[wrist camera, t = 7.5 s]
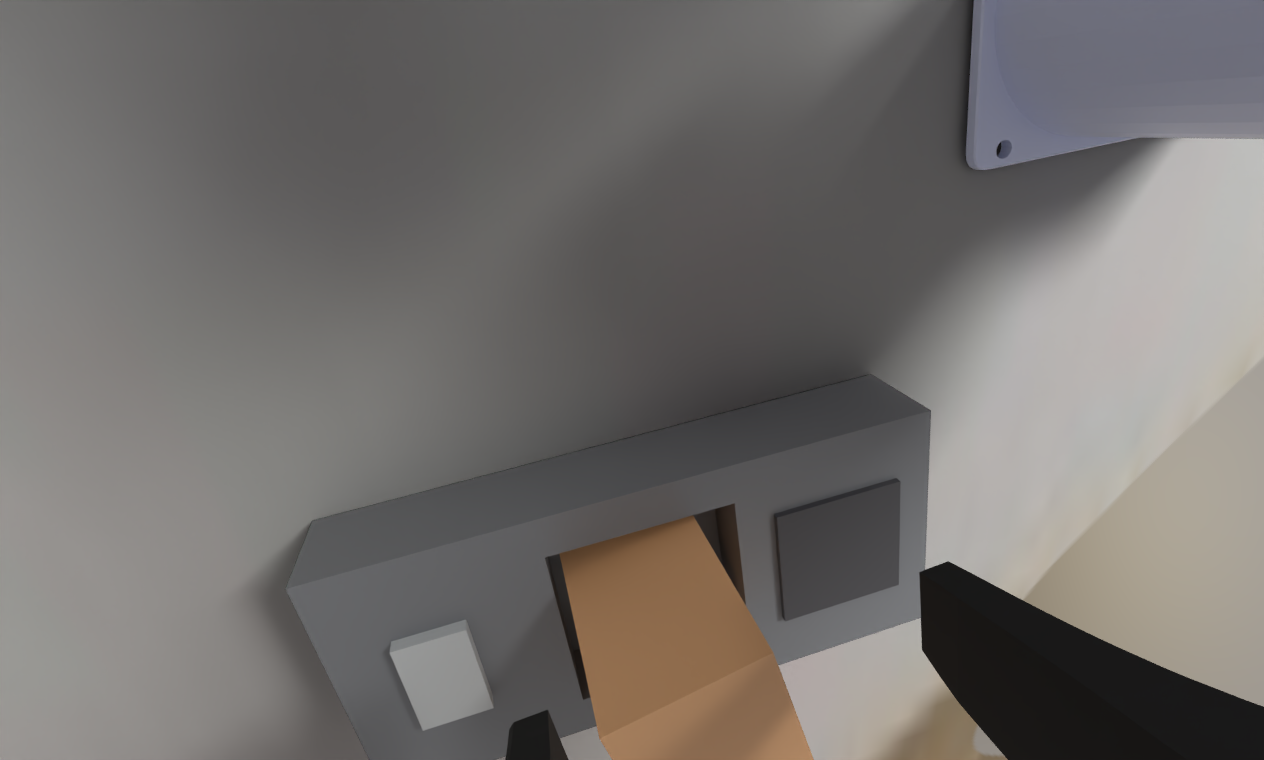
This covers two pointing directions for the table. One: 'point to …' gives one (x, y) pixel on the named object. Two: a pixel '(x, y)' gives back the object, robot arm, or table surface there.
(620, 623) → the tan rectangular block
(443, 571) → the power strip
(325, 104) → the table surface
